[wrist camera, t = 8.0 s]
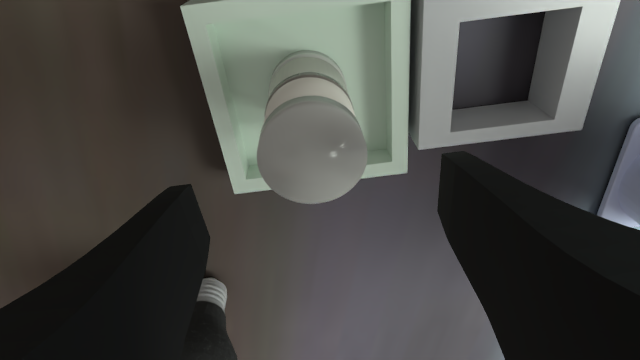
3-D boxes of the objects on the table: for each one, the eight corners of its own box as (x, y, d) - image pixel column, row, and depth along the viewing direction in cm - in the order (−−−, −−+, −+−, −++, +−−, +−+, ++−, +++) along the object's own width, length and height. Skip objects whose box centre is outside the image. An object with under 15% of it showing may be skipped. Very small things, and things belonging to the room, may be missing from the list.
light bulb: (177, 308, 28) (125, 471, 19) (162, 252, 25) (93, 416, 16) (254, 307, 28) (236, 466, 20) (249, 252, 25) (226, 411, 17)
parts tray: (399, -29, 16) (411, -24, 15) (398, 154, 21) (407, 172, 20) (191, -1, 17) (180, 6, 15) (239, 174, 22) (234, 194, 20)
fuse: (343, 46, 17) (367, 101, 12) (346, 120, 19) (368, 198, 14) (264, 53, 17) (247, 112, 12) (275, 126, 19) (266, 208, 14)
